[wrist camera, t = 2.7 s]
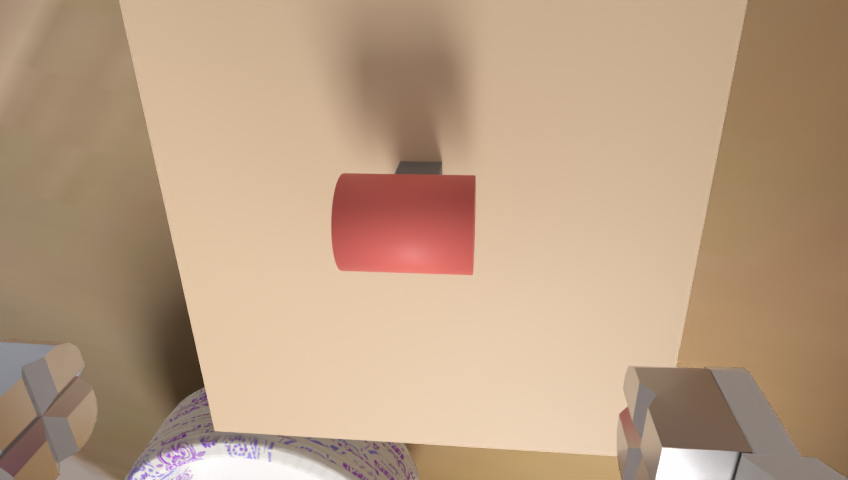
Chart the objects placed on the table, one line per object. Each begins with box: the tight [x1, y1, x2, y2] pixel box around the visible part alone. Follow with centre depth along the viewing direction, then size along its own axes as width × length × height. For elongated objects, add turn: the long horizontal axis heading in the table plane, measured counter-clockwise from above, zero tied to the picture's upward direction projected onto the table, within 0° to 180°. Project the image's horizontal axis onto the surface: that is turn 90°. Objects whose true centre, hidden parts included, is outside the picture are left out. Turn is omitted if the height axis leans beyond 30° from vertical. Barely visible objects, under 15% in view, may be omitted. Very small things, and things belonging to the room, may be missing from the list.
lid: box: [119, 0, 748, 456], centre depth 17 cm, size 20×16×7 cm
